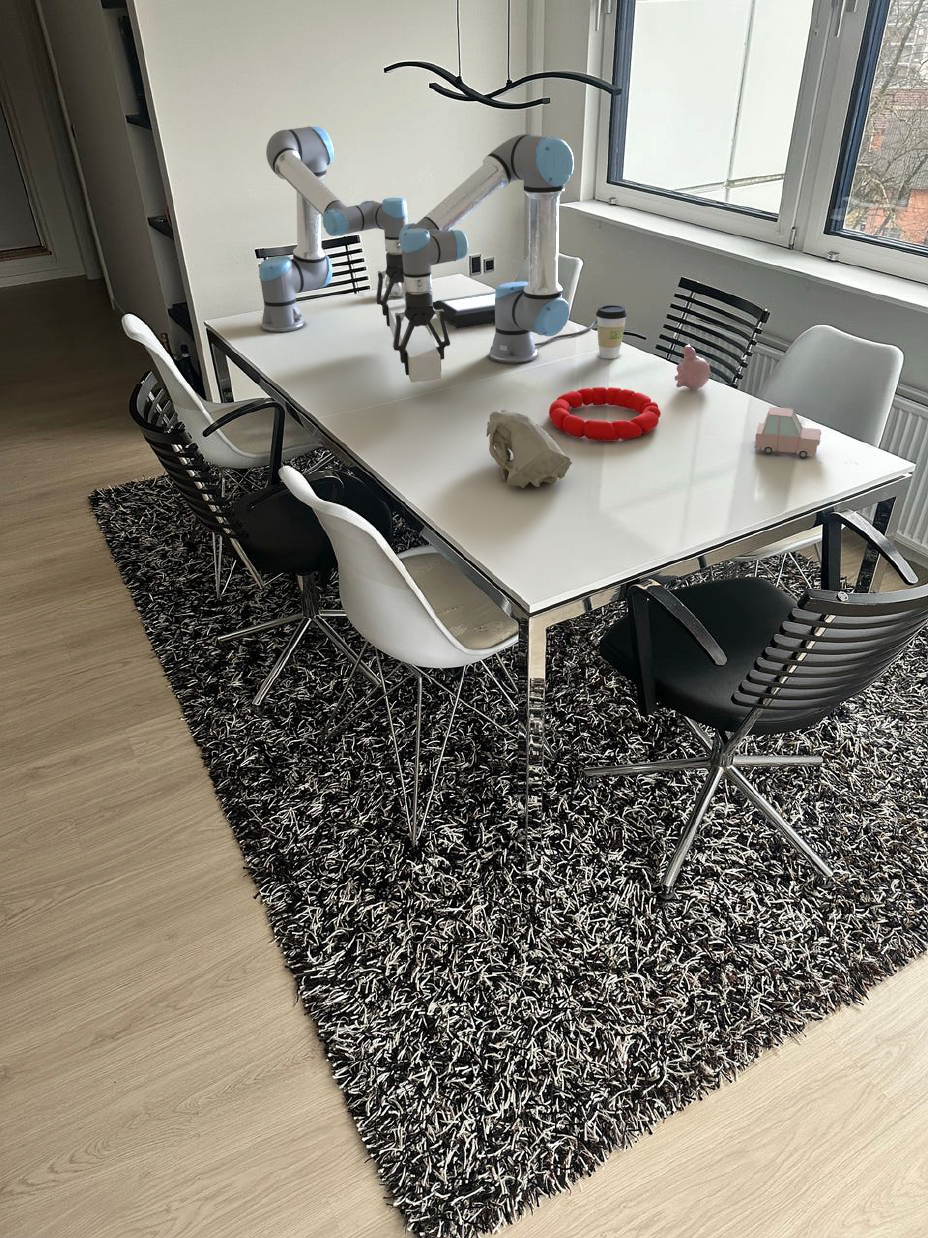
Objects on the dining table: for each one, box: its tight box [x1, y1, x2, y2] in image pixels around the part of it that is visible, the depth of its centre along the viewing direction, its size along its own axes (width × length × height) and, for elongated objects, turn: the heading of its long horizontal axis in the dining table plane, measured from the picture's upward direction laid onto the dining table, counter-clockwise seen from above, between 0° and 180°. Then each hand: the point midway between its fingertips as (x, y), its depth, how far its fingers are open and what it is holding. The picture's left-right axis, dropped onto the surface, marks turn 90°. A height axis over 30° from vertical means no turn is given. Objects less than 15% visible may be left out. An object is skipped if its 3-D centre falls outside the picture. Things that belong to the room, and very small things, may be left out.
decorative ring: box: [548, 386, 661, 442], centre depth 242 cm, size 7×30×30 cm
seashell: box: [384, 275, 406, 298], centre depth 353 cm, size 10×15×10 cm
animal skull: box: [485, 409, 573, 489], centre depth 216 cm, size 17×25×20 cm
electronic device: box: [433, 291, 495, 330], centre depth 326 cm, size 32×6×20 cm
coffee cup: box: [595, 304, 628, 360], centre depth 285 cm, size 10×10×15 cm
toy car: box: [753, 406, 822, 459], centre depth 222 cm, size 9×15×10 cm, turn 70°
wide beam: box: [386, 298, 442, 383], centre depth 273 cm, size 60×9×7 cm, turn 10°
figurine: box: [674, 344, 711, 390], centre depth 259 cm, size 9×11×12 cm
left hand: (402, 323), depth 295 cm, fingers closed on wide beam, 9 cm apart
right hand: (423, 371), depth 255 cm, fingers closed on wide beam, 9 cm apart
